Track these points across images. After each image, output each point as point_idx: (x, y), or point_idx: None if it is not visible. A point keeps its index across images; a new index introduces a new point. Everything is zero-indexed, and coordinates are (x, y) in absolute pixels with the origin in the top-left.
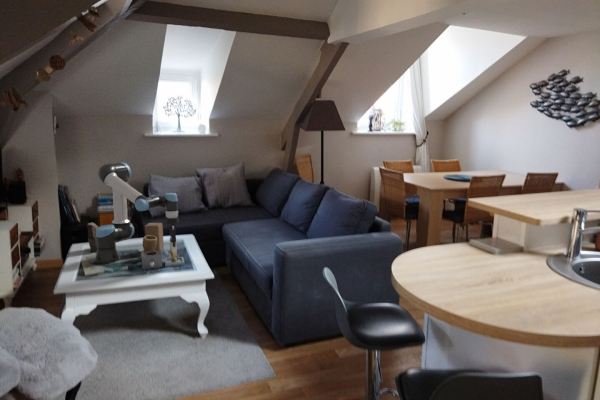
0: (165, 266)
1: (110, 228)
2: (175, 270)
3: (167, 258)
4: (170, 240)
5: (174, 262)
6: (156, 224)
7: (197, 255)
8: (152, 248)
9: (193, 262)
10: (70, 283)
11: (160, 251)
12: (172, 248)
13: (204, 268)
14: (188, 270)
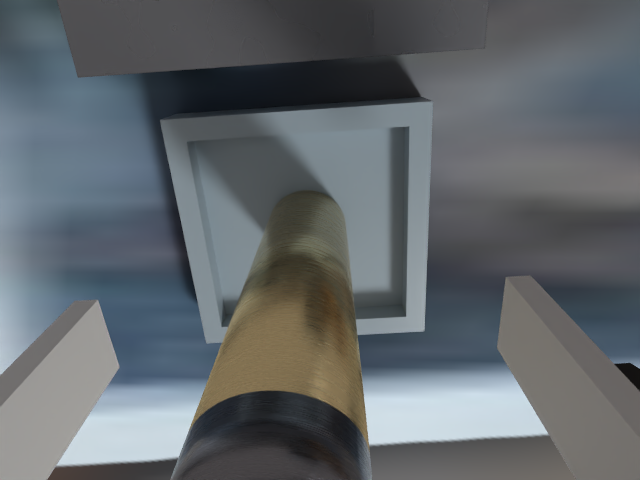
0: (173, 115)
1: None
2: (25, 230)
3: (417, 148)
4: (197, 446)
5: (197, 238)
6: None
7: (521, 432)
8: None
9: None
10: None
11: (386, 46)
12: (35, 354)
13: (81, 461)
14: (24, 347)
